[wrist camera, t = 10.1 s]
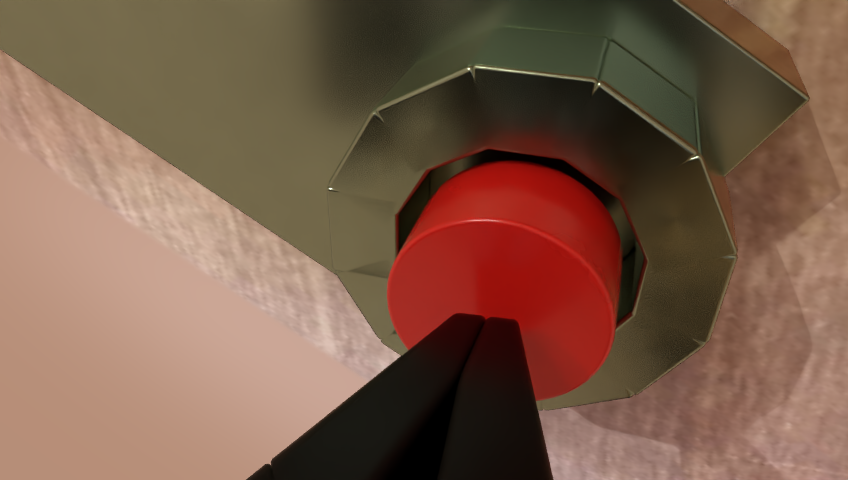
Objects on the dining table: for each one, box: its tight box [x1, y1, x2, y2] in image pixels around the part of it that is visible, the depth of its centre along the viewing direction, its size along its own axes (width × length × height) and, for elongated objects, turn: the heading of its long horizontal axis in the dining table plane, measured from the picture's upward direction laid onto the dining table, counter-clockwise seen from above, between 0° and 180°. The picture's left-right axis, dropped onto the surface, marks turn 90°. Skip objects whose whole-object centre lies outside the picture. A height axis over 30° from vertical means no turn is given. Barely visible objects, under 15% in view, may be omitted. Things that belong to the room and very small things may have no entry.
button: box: [387, 160, 623, 401], centre depth 10 cm, size 3×3×2 cm
